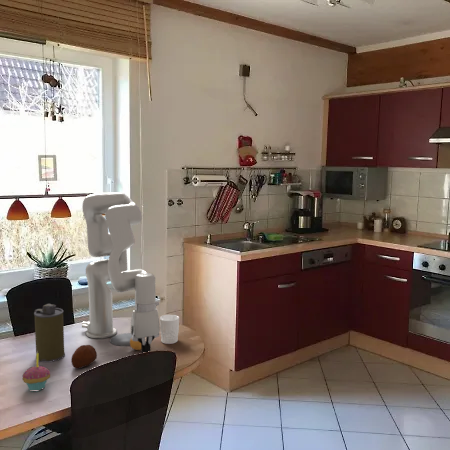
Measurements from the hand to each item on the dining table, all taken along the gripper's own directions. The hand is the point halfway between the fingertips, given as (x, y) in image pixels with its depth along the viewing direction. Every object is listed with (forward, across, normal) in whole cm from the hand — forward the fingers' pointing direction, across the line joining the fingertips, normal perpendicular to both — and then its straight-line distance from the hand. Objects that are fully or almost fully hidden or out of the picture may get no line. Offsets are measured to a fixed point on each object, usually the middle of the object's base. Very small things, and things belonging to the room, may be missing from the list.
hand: (145, 353), depth 190 cm
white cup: (+2, -15, -11) cm, 18 cm away
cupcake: (+2, +40, +6) cm, 41 cm away
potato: (+2, +22, -4) cm, 22 cm away
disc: (+2, 0, -20) cm, 21 cm away
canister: (+2, +31, -18) cm, 36 cm away
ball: (-2, 0, -8) cm, 9 cm away
